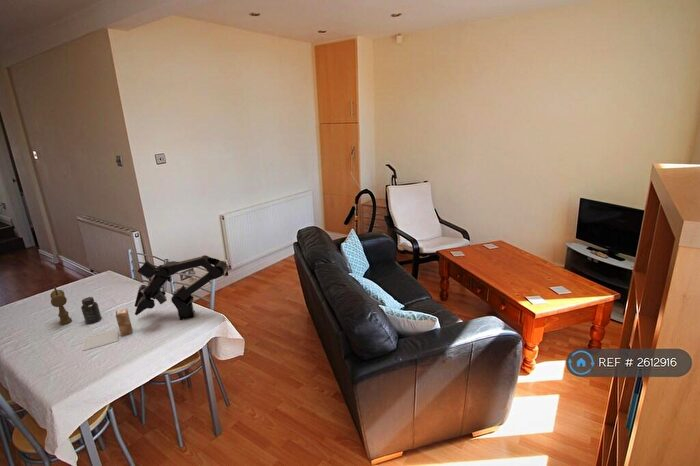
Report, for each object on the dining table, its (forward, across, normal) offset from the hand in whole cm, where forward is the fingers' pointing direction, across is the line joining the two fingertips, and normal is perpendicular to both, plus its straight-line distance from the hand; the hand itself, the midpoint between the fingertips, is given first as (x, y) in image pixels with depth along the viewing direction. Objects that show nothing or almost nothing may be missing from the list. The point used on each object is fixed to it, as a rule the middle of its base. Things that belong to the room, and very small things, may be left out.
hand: (135, 310), depth 176 cm
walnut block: (+9, -5, -2) cm, 10 cm away
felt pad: (+16, -5, +5) cm, 18 cm away
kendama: (+28, +23, +17) cm, 40 cm away
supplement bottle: (+20, +17, +8) cm, 27 cm away
